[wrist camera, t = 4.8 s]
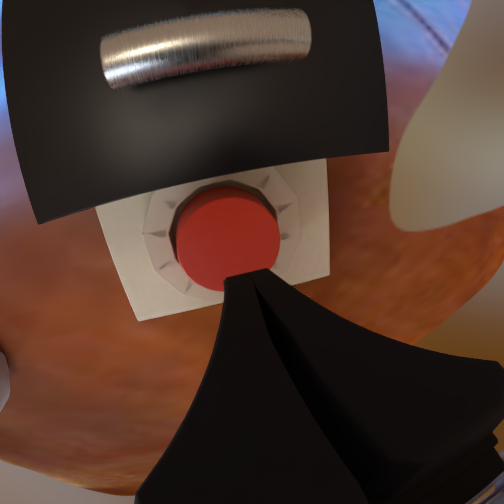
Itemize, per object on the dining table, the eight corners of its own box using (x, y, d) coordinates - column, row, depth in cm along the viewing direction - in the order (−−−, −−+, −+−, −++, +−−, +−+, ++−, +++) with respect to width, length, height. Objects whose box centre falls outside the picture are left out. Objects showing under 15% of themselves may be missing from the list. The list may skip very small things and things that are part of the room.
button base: (323, 267, 19) (343, 291, 17) (139, 311, 18) (136, 341, 15) (316, 131, 15) (341, 137, 13) (92, 176, 14) (76, 191, 11)
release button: (273, 261, 16) (284, 279, 14) (188, 281, 15) (190, 302, 13) (263, 177, 13) (275, 186, 12) (166, 197, 13) (165, 210, 11)
